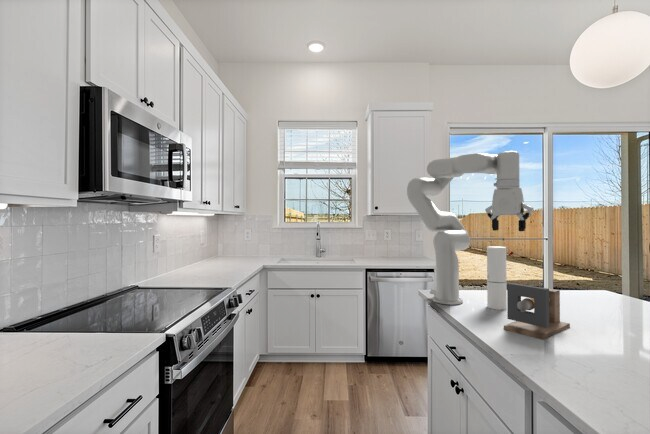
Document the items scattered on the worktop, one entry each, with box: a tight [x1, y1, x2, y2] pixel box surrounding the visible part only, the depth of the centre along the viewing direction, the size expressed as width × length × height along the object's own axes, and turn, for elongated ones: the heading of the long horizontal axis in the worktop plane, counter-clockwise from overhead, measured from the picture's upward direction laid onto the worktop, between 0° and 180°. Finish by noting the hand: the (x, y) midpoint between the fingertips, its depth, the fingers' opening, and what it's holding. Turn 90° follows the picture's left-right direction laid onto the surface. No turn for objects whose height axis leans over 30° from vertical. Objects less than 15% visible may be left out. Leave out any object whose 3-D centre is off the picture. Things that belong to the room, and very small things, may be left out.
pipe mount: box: [503, 286, 571, 340], centre depth 117 cm, size 12×20×12 cm, turn 125°
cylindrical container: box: [486, 245, 507, 311], centre depth 143 cm, size 7×7×25 cm
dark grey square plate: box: [506, 282, 550, 328], centre depth 113 cm, size 12×2×12 cm, turn 35°
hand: (508, 230), depth 129 cm, fingers open, 9 cm apart
